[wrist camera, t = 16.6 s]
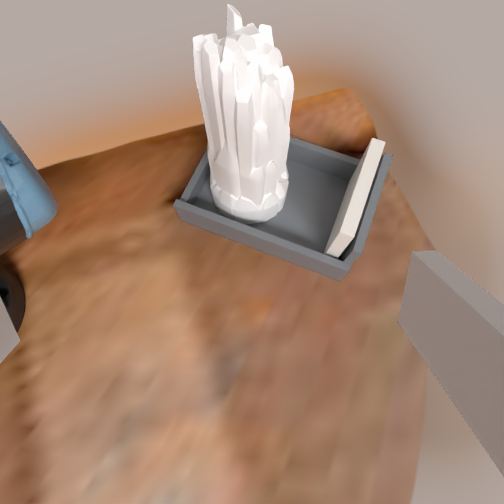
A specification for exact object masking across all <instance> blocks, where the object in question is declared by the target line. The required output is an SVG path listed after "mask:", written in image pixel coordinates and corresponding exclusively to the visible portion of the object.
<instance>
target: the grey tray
mask: <svg viewBox="0 0 504 504" xmlns="http://www.w3.org/2000/svg"><path fill="white" fill-rule="evenodd" d="M392 156H393V155H391V154H387V153H384V155H383V157H382V158H381V160H380V161H379V164H378V167H377V170H376V173H375V176H374V179H373V182H372V185H371V188H370V191H369V194H368V197H367V200H366V203H365V206H364V209H363V212H362V215H361V218H360V221H359V224H358V227H357V230H356V233H355V236H354V238H353V240H352V241H351V242H350V243H349V244H348V246H347V247H346V248H345V249H344V251H343V252H342V253H341V254H340V256H339V257H338V258H337V259H335V258H332V257H330V256H327V255H324V254H323V253H324V251H325V248H326V245H327V242H328V239H329V237H330V234H331V231H332V228H333V225H334V223H335V220H336V217H337V214H338V211H339V209H340V206H341V203H342V200H343V197H344V195H345V192H346V189H347V186H348V183H349V181H350V179H351V177H352V175H353V174H354V172H355V170H356V168H357V166H358V164H359V162H360V160H359V159H356V158H353V157H350V156H347V155H344V154H341V153H338V152H335V151H332V150H329V149H326V148H323V147H320V146H317V145H314V144H311V143H308V142H305V141H302V140H299V139H296V138H293V137H290V141H289V148H288V154H287V160H286V166H287V170H288V174H289V177H288V181H289V184H288V189H287V194H286V199H285V202H284V205H283V208H282V209H281V211H280V212H277V215H276V216H274V217H273V218H271V219H269V220H268V221H265V222H260V223H255V224H242V223H239V222H237V221H234V220H231V219H229V218H227V217H226V216H224V215H223V214H222V213H221V212H220V211H219V210H218V208H217V207H216V205H215V203H214V201H213V197H212V193H211V189H210V165H209V160H208V153H207V150H206V151H205V153H204V155H203V157H202V159H201V161H200V163H199V164H198V166H197V168H196V170H195V172H194V174H193V176H192V177H191V179H190V181H189V183H188V185H187V187H186V189H185V191H184V192H183V194H182V196H181V198H180V200H178V199H176V201H175V202H174V204H173V206H174V208H175V210H176V212H177V214H178V216H179V218H180V220H181V221H184V222H186V223H189V224H191V225H194V226H197V227H199V228H202V229H204V230H207V231H210V232H212V233H215V234H217V235H220V236H223V237H225V238H228V239H230V240H233V241H236V242H238V243H241V244H243V245H246V246H249V247H251V248H254V249H256V250H259V251H262V252H264V253H267V254H269V255H272V256H275V257H277V258H280V259H283V260H285V261H288V262H290V263H293V264H296V265H298V266H301V267H303V268H306V269H309V270H311V271H314V272H316V273H319V274H322V275H324V276H327V277H329V278H332V279H335V280H337V281H340V280H341V279H342V278H343V277H344V276H345V275H346V274H347V273H348V272H349V270H350V267H351V264H352V263H353V262H354V261H355V260H356V259H357V258H358V257H359V256H360V255H361V254H362V251H363V248H364V245H365V242H366V239H367V235H368V232H369V229H370V226H371V223H372V220H373V216H374V213H375V210H376V207H377V204H378V201H379V197H380V194H381V191H382V188H383V185H384V182H385V178H386V175H387V172H388V169H389V166H390V162H391V159H392Z"/></svg>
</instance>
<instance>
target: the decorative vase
mask: <svg viewBox="0 0 504 504" xmlns="http://www.w3.org/2000/svg"><path fill="white" fill-rule="evenodd" d="M192 45H193V61H194V72H195V79H196V84H197V88H198V94H199V99H200V103H201V109H202V114H203V118H204V123H205V128H206V133H207V138H208V148H207V153H208V160H209V165H210V189H211V193H212V197H213V201H214V203H215V205H216V207H217V208H218V210H219V211H220V212H221V213H222V214H223V215H224V216H226V217H227V218H229V219H231V220H234V221H237V222H239V223H242V224H255V223H260V222H265V221H268V220H269V219H271V218H273V217H274V216H276V215H277V212H280V211H281V209H282V208H283V205H284V202H285V199H286V194H287V189H288V184H289V181H288V177H289V174H288V170H287V166H286V160H287V154H288V148H289V141H290V127H289V120H290V113H291V106H292V99H293V92H294V82H293V74H292V72H291V70H290V68H289V66H285V67H283V62H282V55H281V53H280V51H279V49H278V48H275V47H274V43H273V35H272V28H271V26H268V25H264V24H260V26H259V28H258V29H257V28H256V27H255V25H254V23H250V24H247V26H242V20H241V15H240V13H239V12H238V10H237V9H235V7H234V6H233V5H230V4H228V11H227V37H224V38H222V39H220V40H218V38H217V35H216V34H215V33H214V34H213V33H212V34H200V35H198V36H195V37H193V38H192Z"/></svg>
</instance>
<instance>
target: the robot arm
mask: <svg viewBox="0 0 504 504" xmlns="http://www.w3.org/2000/svg"><path fill="white" fill-rule="evenodd" d="M57 209H58V207H57V202H56V200H55V198H54V196H53V194H52V193H51V191H50V189H49V188H48V186H47V184H46V183H45V181H44V180H43V178H42V177H41V175H40V174H39V173H38V171H37V170H36V168H35V167H34V165H33V164H32V163H31V161H30V160H29V158H28V157H27V156H26V154H25V153H24V151H23V150H22V149H21V147H20V146H19V145H18V144H17V142H16V141H15V140H14V138H13V137H12V135H11V134H10V133H9V131H8V130H7V129H6V128H5V126H4V125H3V124H2V123H1V121H0V255H2V254H3V253H5V252H7V251H8V250H10V249H11V248H13V247H15V246H16V245H18V244H20V243H21V242H23V241H25V240H26V239H29V238H31V237H32V236H33V234H34V233H35V232H37V231H38V230H39V229H41V228H42V227H43V226H45V225H46V224H48V223H49V222H50V221H52V220H53V219H54V217H55V215H56V213H57ZM24 308H25V298H24V292H23V288H22V285H21V283H20V281H19V280H18V278H17V277H16V275H15V274H14V273H13V272H12V271H11V270H9V269H8V268H6V267H5V266H3V265H1V264H0V363H1V362H2V361H3V360H4V359H5V358H6V357H7V355H8V354H9V353H10V352H11V351H12V350H13V349H14V348H15V347H16V345H17V344H18V343H19V342H20V339H19V337H18V334H17V332H18V330H19V327H20V325H21V322H22V319H23V315H24ZM398 323H399V325H400V326H401V328H402V329H403V330H404V332H405V333H406V335H407V336H408V338H409V339H410V341H411V342H412V344H413V345H414V347H415V348H416V349H417V351H418V352H419V354H420V355H421V357H422V358H423V360H424V361H425V363H426V364H427V365H428V367H429V368H430V370H431V371H432V373H433V374H434V376H435V377H436V379H437V380H438V381H439V383H440V384H441V386H442V387H443V389H444V390H445V392H446V393H447V394H448V396H449V397H450V399H451V400H452V402H453V403H454V405H455V406H456V408H457V409H458V411H459V412H460V413H461V415H462V416H463V418H464V419H465V421H466V422H467V424H468V425H469V427H470V428H471V429H472V431H473V432H474V434H475V435H476V437H477V438H478V440H479V441H480V443H481V444H482V445H483V447H484V448H485V450H486V451H487V453H488V454H489V456H490V457H491V459H492V460H493V461H494V463H495V464H496V466H497V467H498V469H499V470H500V472H501V473H502V474H503V476H504V304H502V303H501V302H500V301H499V300H497V299H496V298H495V297H494V296H492V295H491V294H490V293H489V292H487V291H486V290H485V289H484V288H483V287H481V286H480V285H479V284H477V283H476V282H475V281H474V280H473V279H471V278H470V277H469V276H467V275H466V274H465V273H464V272H463V271H461V270H460V269H459V268H458V267H456V266H455V265H454V264H453V263H451V262H450V261H449V260H448V259H446V258H445V257H444V256H443V255H441V254H440V253H439V252H438V251H436V250H434V251H412V254H411V259H410V264H409V269H408V274H407V279H406V284H405V289H404V294H403V299H402V304H401V309H400V314H399V319H398Z"/></svg>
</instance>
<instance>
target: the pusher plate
mask: <svg viewBox="0 0 504 504" xmlns="http://www.w3.org/2000/svg"><path fill="white" fill-rule="evenodd" d="M384 145H385V142H383V141H381V140H377V139H374V138H372V140H371V141H370V143H369V145H368V147H367V149H366V151H365V153H364V155H363V157H362V158H361V160H360V162H359V164H358V166H357V168H356V170H355V172H354V174H353V175H352V177H351V179H350V181H349V183H348V186H347V189H346V192H345V195H344V197H343V200H342V203H341V206H340V209H339V211H338V214H337V217H336V220H335V223H334V225H333V228H332V231H331V234H330V237H329V239H328V242H327V245H326V248H325V251H324V253H323V254H324V255H327V256H330V257H332V258H335V259H337V258H338V257H339V256H340V254H341V253H342V252H343V251H344V249H345V248H346V247H347V246H348V244H349V243H350V242H351V241H352V240H353V238H354V236H355V233H356V230H357V227H358V224H359V221H360V218H361V215H362V212H363V209H364V206H365V203H366V200H367V197H368V194H369V191H370V188H371V185H372V182H373V179H374V176H375V173H376V170H377V167H378V164H379V161H380V158H381V155H382V151H383V148H384Z"/></svg>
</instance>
